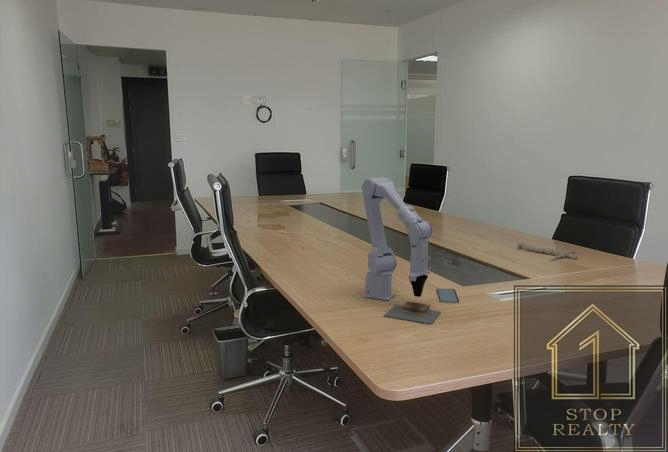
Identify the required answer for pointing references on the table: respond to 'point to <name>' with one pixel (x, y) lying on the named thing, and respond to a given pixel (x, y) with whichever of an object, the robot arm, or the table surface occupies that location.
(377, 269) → the robot arm
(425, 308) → the brown wooden block
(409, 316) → the mat
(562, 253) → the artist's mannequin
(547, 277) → the table surface
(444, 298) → the smartphone
